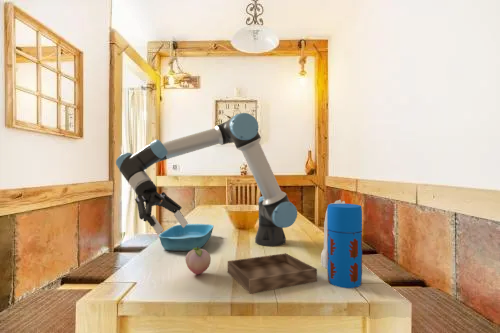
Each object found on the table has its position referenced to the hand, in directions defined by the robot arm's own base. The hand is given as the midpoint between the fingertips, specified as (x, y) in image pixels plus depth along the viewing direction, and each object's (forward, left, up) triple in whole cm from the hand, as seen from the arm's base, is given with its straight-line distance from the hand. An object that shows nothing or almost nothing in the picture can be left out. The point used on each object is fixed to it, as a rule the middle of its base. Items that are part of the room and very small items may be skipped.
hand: (173, 228), depth 112 cm
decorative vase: (-57, +20, -15) cm, 62 cm away
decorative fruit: (-7, +8, -15) cm, 19 cm away
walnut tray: (-29, +20, -15) cm, 39 cm away
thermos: (-49, +34, -15) cm, 62 cm away
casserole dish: (-13, -37, -16) cm, 42 cm away
